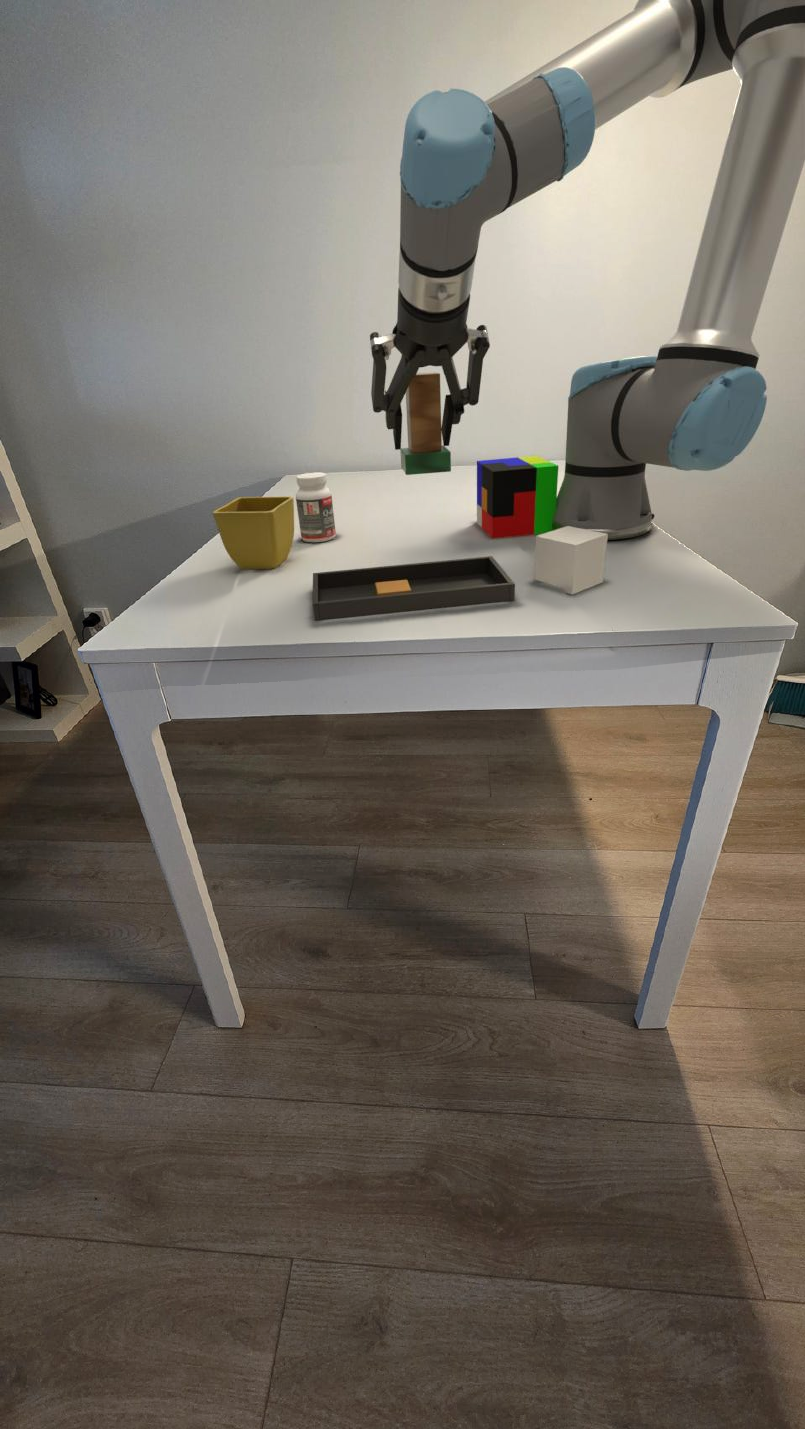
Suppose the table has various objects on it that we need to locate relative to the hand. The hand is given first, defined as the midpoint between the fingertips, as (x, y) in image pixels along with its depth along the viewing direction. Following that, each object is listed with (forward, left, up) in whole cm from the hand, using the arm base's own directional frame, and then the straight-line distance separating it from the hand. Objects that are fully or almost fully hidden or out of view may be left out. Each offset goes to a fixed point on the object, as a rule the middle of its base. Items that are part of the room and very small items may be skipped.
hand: (421, 439), depth 88 cm
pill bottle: (+16, -12, -16) cm, 25 cm away
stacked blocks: (0, +4, -3) cm, 5 cm away
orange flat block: (+7, +20, -15) cm, 26 cm away
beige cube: (-15, +20, -16) cm, 29 cm away
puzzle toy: (-16, -8, -16) cm, 24 cm away
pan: (+5, +20, -15) cm, 26 cm away
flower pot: (+24, +1, -16) cm, 29 cm away
